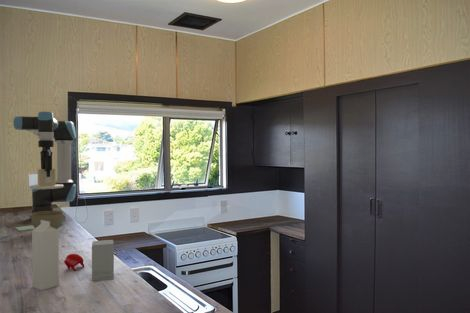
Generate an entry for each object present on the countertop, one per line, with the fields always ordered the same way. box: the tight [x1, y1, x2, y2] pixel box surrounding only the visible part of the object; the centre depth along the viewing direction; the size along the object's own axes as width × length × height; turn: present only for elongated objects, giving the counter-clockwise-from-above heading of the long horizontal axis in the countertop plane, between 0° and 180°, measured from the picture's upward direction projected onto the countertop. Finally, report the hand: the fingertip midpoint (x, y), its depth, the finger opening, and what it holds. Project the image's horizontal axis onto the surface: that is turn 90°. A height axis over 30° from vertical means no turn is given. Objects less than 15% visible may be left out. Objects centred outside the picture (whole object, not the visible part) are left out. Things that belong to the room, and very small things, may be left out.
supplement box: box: [91, 239, 115, 282], centre depth 140 cm, size 7×7×13 cm
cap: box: [63, 253, 85, 272], centre depth 150 cm, size 8×6×6 cm
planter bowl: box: [30, 210, 64, 230], centre depth 215 cm, size 16×16×11 cm
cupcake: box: [58, 205, 66, 226], centre depth 236 cm, size 9×8×12 cm
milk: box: [31, 220, 60, 291], centre depth 131 cm, size 6×6×22 cm
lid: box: [28, 168, 64, 190], centre depth 215 cm, size 17×17×10 cm
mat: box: [14, 224, 35, 232], centre depth 226 cm, size 11×10×1 cm
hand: (46, 182), depth 215 cm, fingers closed on lid, 4 cm apart
